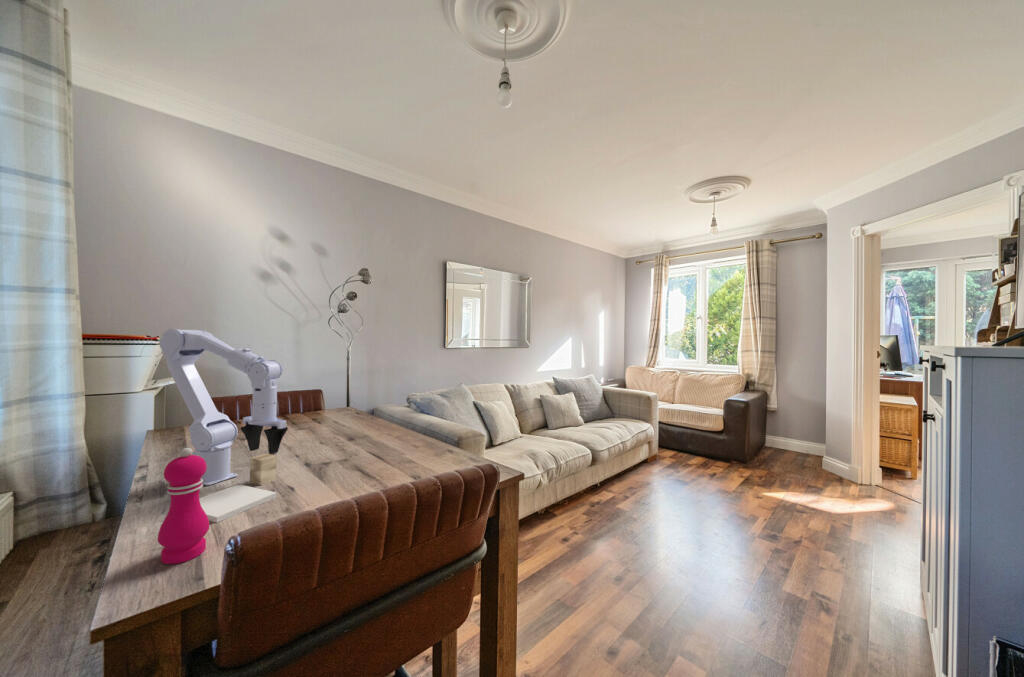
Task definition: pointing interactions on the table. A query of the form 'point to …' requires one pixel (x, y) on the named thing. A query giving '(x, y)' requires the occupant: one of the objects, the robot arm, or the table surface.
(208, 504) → the white board
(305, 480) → the table surface
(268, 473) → the birch block
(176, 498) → the pepper mill
